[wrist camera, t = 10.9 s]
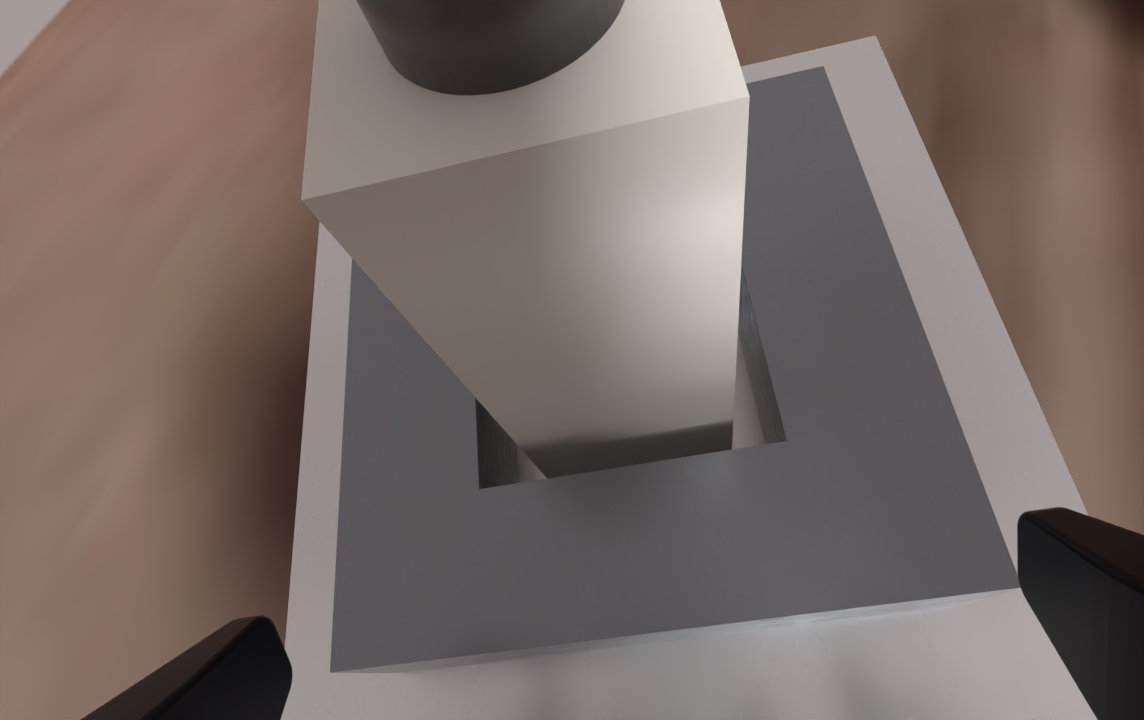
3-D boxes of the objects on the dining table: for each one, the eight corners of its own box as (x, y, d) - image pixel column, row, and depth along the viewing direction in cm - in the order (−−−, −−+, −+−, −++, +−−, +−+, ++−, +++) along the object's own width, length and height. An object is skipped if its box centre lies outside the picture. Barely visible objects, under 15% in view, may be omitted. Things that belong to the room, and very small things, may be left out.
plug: (731, 453, 16) (757, -67, 5) (550, 482, 16) (196, 80, 5) (696, 295, 18) (656, -337, 7) (535, 326, 18) (252, -208, 7)
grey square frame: (1198, 821, 12) (1395, 881, 9) (285, 891, 15) (146, 961, 11) (870, 57, 21) (900, -69, 17) (336, 179, 23) (267, 90, 20)
